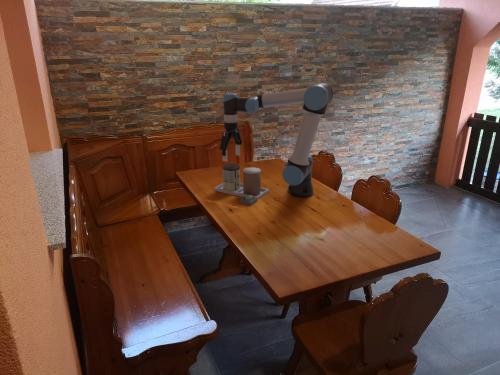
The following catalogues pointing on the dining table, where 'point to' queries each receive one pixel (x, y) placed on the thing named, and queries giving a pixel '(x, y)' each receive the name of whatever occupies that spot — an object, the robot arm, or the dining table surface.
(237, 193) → the pallet board
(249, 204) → the button box
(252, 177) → the seated tin
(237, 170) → the coffee can
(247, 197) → the button
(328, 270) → the dining table surface
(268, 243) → the dining table surface
